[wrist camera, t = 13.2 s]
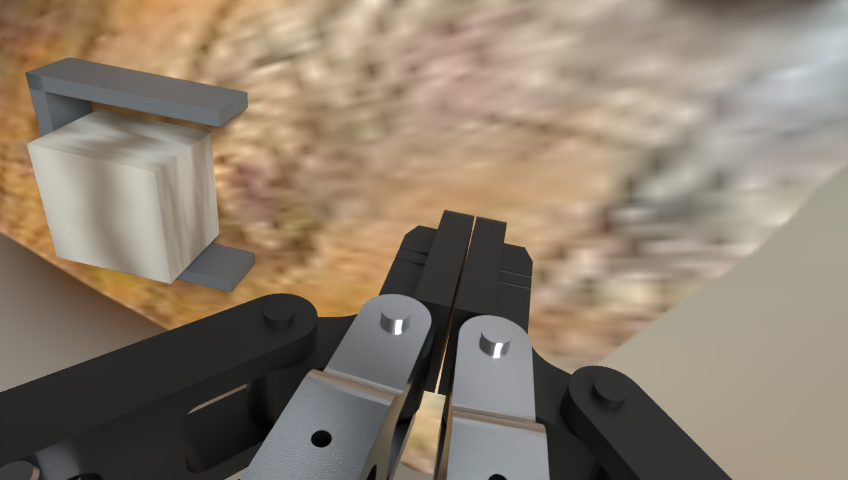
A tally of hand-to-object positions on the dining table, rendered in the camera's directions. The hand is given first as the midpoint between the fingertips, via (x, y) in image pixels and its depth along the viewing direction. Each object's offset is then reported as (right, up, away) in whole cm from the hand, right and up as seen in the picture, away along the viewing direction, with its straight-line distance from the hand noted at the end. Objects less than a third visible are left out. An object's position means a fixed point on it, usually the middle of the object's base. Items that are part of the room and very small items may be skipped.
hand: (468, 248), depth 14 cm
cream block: (-24, +6, +37) cm, 44 cm away
